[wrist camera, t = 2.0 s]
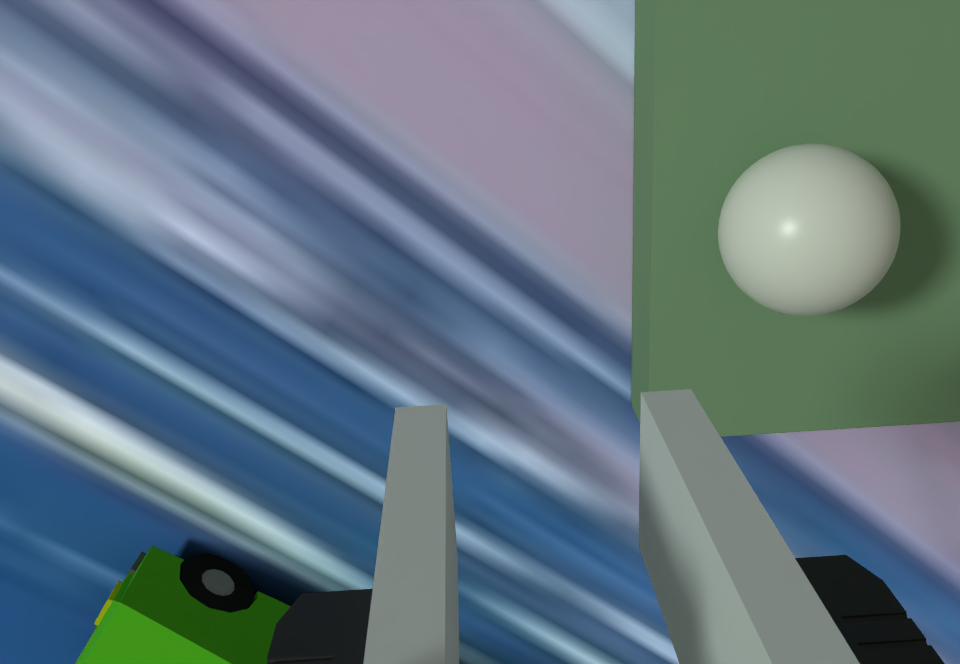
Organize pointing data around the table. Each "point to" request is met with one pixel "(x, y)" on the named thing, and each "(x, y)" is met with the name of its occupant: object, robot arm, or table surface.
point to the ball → (809, 229)
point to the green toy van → (183, 615)
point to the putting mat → (751, 136)
